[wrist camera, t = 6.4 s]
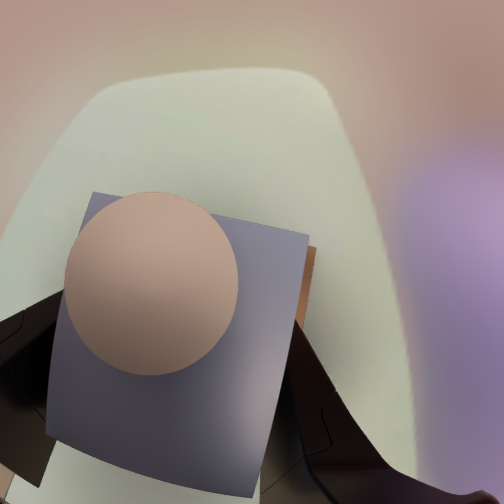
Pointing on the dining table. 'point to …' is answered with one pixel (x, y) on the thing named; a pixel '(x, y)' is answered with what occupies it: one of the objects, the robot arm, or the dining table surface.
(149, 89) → the dining table surface
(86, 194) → the dining table surface
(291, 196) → the dining table surface
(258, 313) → the block
